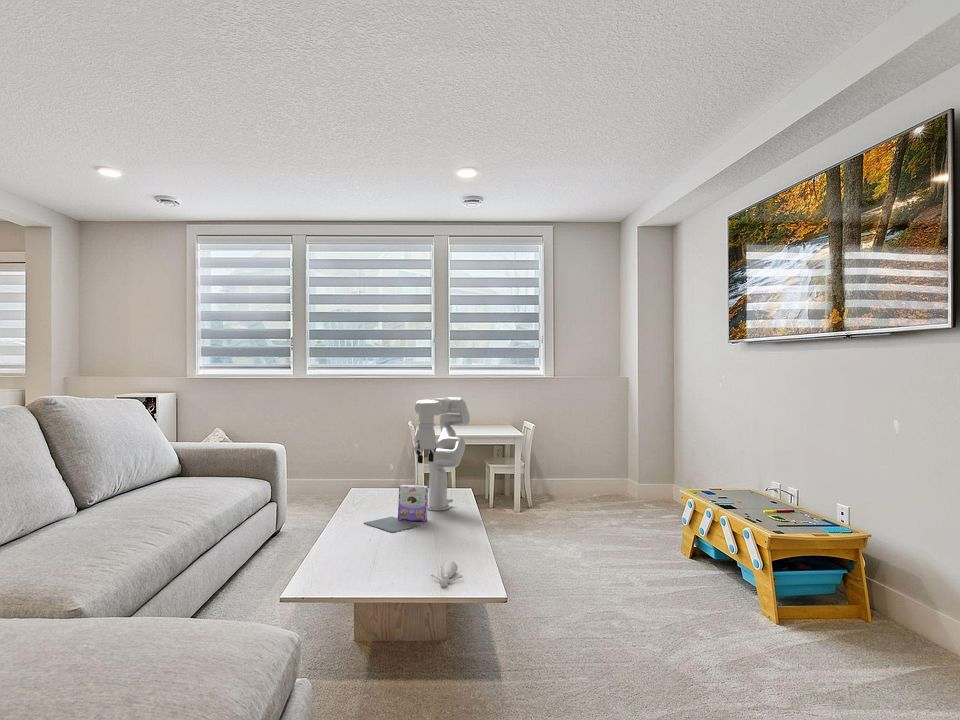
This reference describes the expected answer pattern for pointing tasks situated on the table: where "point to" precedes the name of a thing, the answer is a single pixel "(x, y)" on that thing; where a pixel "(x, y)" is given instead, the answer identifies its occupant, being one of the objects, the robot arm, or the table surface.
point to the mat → (392, 524)
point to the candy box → (413, 502)
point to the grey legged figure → (447, 573)
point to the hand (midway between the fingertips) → (425, 462)
